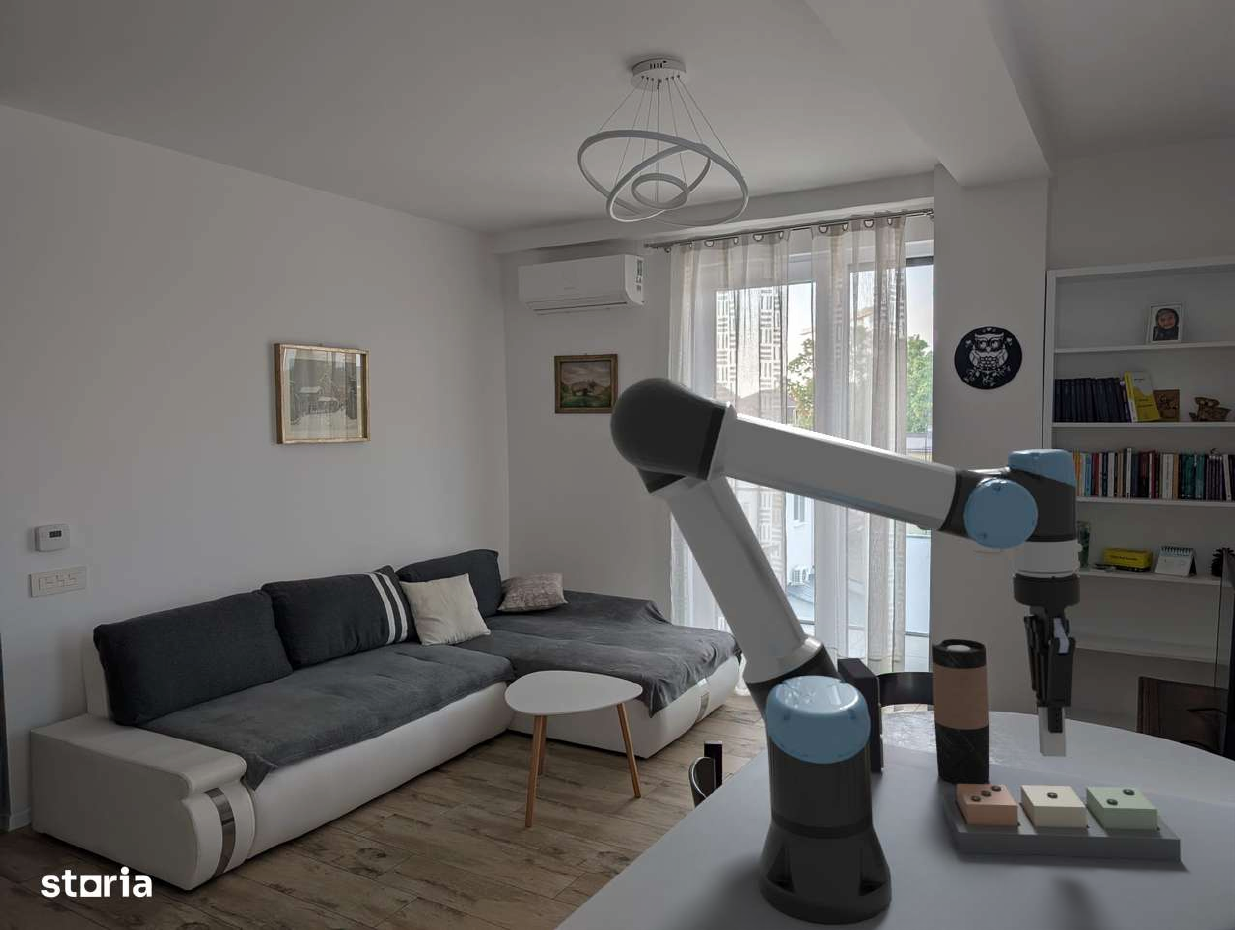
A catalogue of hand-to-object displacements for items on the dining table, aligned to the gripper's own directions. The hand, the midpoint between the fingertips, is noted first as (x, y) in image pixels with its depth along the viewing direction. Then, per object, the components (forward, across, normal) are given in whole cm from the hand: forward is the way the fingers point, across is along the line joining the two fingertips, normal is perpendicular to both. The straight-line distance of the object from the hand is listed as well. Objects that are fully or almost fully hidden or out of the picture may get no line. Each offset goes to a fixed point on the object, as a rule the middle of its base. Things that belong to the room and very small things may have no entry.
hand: (1053, 754), depth 109 cm
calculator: (+11, +23, +22) cm, 33 cm away
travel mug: (+11, +17, +8) cm, 22 cm away
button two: (+9, 0, -8) cm, 11 cm away
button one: (+9, 0, 0) cm, 9 cm away
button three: (+8, 0, +8) cm, 12 cm away
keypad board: (+11, 0, 0) cm, 11 cm away
